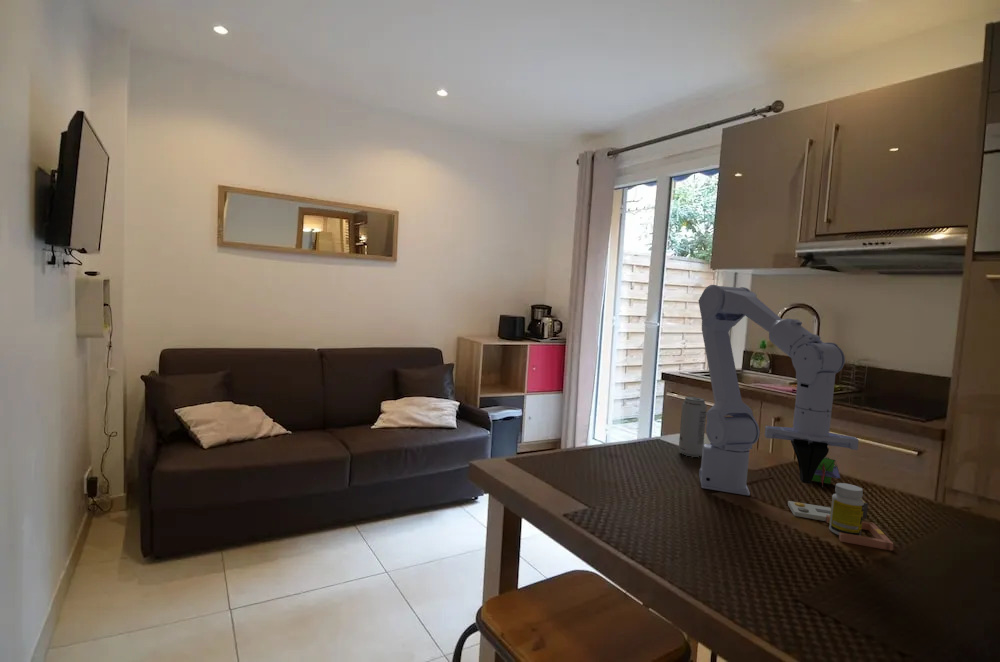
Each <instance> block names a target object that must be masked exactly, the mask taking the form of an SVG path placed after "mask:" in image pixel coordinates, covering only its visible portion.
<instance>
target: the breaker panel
mask: <svg viewBox="0 0 1000 662" xmlns="http://www.w3.org/2000/svg"><path fill="white" fill-rule="evenodd" d="M787 505H788V507H789V508H788V509H790V511H791V512H792V515H793V516H794V517H799V518H800V517H801V518H805V519H812V520H818V521H822V522H823V521H824V522H826V515H830V513H831V506H823V505H816V504H809V503H805V502H799V501H798V502H797V501H792V500H788V501H787ZM862 521H864V520H862Z"/></svg>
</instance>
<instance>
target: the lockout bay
mask: <svg viewBox="0 0 1000 662" xmlns="http://www.w3.org/2000/svg"><path fill="white" fill-rule="evenodd" d="M825 522H826V524H829V522H830V515H826V521H825ZM861 530H864V531H869V533H871V535H872V536H873V537H869V536H863V535H861V536H858V535H853V534H847V533H841V532H839V535H838V540H839V542H840V543H841V542H842V543H847V544H853V545H859V546H864V547H869V548H876V549H880V550H887V551H892V552H893V551H894V543H893V541H892V540H890V538H889V537H888V536H887V535H886V534H885V533H884V532H883V530H881V529H880V527H879V526H877V525H876V523H875V522H871V521H866V520H863V521H862V529H861Z"/></svg>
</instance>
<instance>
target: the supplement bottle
mask: <svg viewBox="0 0 1000 662" xmlns="http://www.w3.org/2000/svg"><path fill="white" fill-rule="evenodd" d="M834 491H835V493H833V494H832V496H831V505H830V508H831V513H830V522H829V523H828V524H829V526H828V528H829V531H830V532H832V533H833V534H835V535H837V536H839V532H841V533H847V534H853V535H858V536H862V530H863V529H862V520H863V519H864V518H863V511H864V502H863V500H864V499H863V496H864V494H863V493H864V492H863V491H864V490H863V488H862V487H861V486H858V485H853V484H850V483H846V482H845V483H844V482H837V483H836V484H835V488H834ZM860 498H862V499H863V500H862V499H860ZM863 521H864V520H863Z"/></svg>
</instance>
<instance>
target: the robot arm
mask: <svg viewBox="0 0 1000 662" xmlns="http://www.w3.org/2000/svg"><path fill="white" fill-rule="evenodd" d="M757 295H758V294H756V293H755V292H753V291H752V290H750V289H749V288H747V287H745V286H744V287H743V286H741V287H735V286H724V285H723V286H722V285H717V284H710V285H708V286H706V287H705V288H704V289H703V292H702V294H701V295H700V297H699V299H698V307H699V311H700V317H701V318H700V319H701V332H702V337H703V343H704V350H705V355H706V361H707V366H708V373H709V377H710V383H711V389H712V395H713V401H714V404H713V405H712V406H711V407H710V408H709V409H708V410H706V424H705V432H706V437H707V438H708V441H709V442H710V443H704V444H703V449H702V454H701V460H700V461H701V462H700V468H699V470H698V472H699V473H698V475H699V480H700V481H699V482H700V487H701V488H702V489H706V490H712V491H718V492H723V493H730V494H737V495H742V496H750V495H751V493H750V490H749V487H748V485H747V482H748V470H749V460H750V459H749V458H750V450H752V449H753V445H754V444H756V443H757V442H758V440H759V437H760V434H761V433H760V426H759V424H758V422H757V420H756V418H755V416H754V413H753V409H751V408H750V406H748V404H746V403H745V402H744V401H743V399H742V394H741V390H740V385H739V380H738V375H737V368H736V364H735V359H734V358H735V357H734V354H733V353H734V352H733V349H732V348H733V347H732V344H731V339H730V333H729V332H730V330H731V329H732V327H735V326H736V325H737V324H738V323H739V322H740V321H741V320H742V319H743V318H744V317H746V318H748V319H749V320H751V321H752V322H754V323H755V324H756V325H758V326H759V327H761V328H762V329H764V330H765V331H766V332H768V339H769V341H770V343H772V344H773V346H774V345H775V346H776V347H777V348H778V349H780V351H782V352H783V353H784V354H786V355H787V356H788V357H789V358H791V362H792V363H791V364H792V367H793V368H794V371H795V379H796V382H797V383H796V392H795V393H796V394H795V403H794V412H793V423H792V427H785V426H773V425H772V426H771V425H765V428H764V437H765V438H766V439H771V440H772V439H779V440H786V441H790V443H791V446H792V448H793V451H794V453H795V457H796V460H797V464H798V470H799V480H800V481H801V483H804V484H809V485H811V484H812V482H813V481H812V479H813V476H814V474H815V472H816V470H817V468H818V466H819V464H820V463H821V461H822V460H823V459H824V458H825V456H826V457H827V456H828V454H829V452H830V449H829V447H838V448H846V449H849V450H853V451H855V450H856V451H858V449H859V441H860V439H858V438H857V437H855V436H850V435H844V434H839V433H835V432H834V433H832V432H830V429H831V421H832V413H833V412H832V411H833V401H834V391H835V382H836V374H837V373H839V372H840V371H841V370H842V369H843V368H844V366H845V362H846V358H845V354H844V351H843V350H842V349H841V347H839V345H838V344H837V343H835V342H829V341H828V342H827V341H826V342H823V341H822V340H821V336H820V335H818V334H813V333H811V331H809V330H807V328H805V327H803V326H802V324H803V322H802V321H801V320H799V319H794V318H781V317H780V316H779V315H777V314H776V312H774V311H773V309H771V308H770V307H768V305H766V304H765V303H764V302H763V301H761V299H759V297H757ZM828 446H829V447H828Z"/></svg>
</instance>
